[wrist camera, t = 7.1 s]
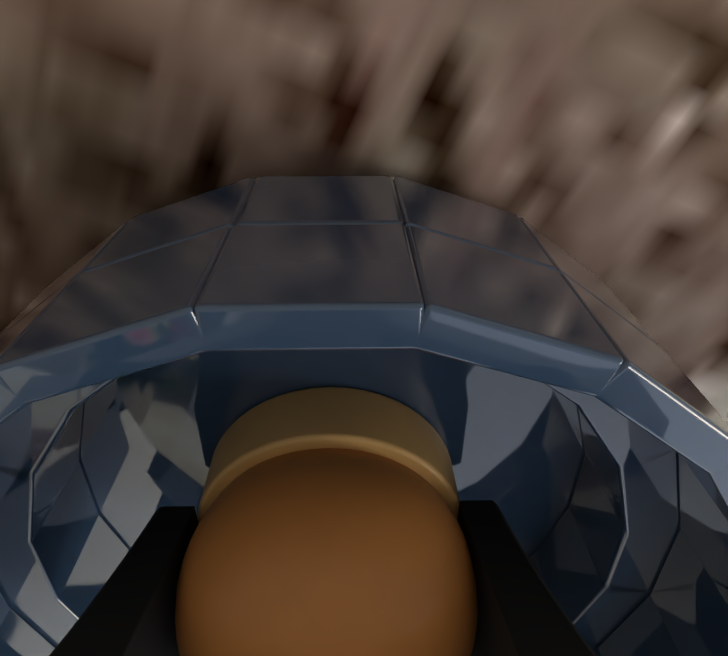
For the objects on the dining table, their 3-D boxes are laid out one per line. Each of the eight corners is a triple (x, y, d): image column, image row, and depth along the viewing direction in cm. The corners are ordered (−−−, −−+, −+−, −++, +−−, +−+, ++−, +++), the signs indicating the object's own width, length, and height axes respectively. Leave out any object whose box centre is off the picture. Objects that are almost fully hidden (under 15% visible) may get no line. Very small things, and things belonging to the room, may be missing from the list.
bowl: (571, 627, 16) (644, 836, 12) (106, 638, 15) (24, 856, 11) (734, 164, 9) (1032, 298, 5) (-97, 166, 9) (-460, 312, 5)
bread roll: (442, 554, 13) (488, 830, 9) (227, 558, 13) (168, 840, 9) (462, 383, 10) (543, 657, 6) (193, 386, 10) (84, 669, 6)
